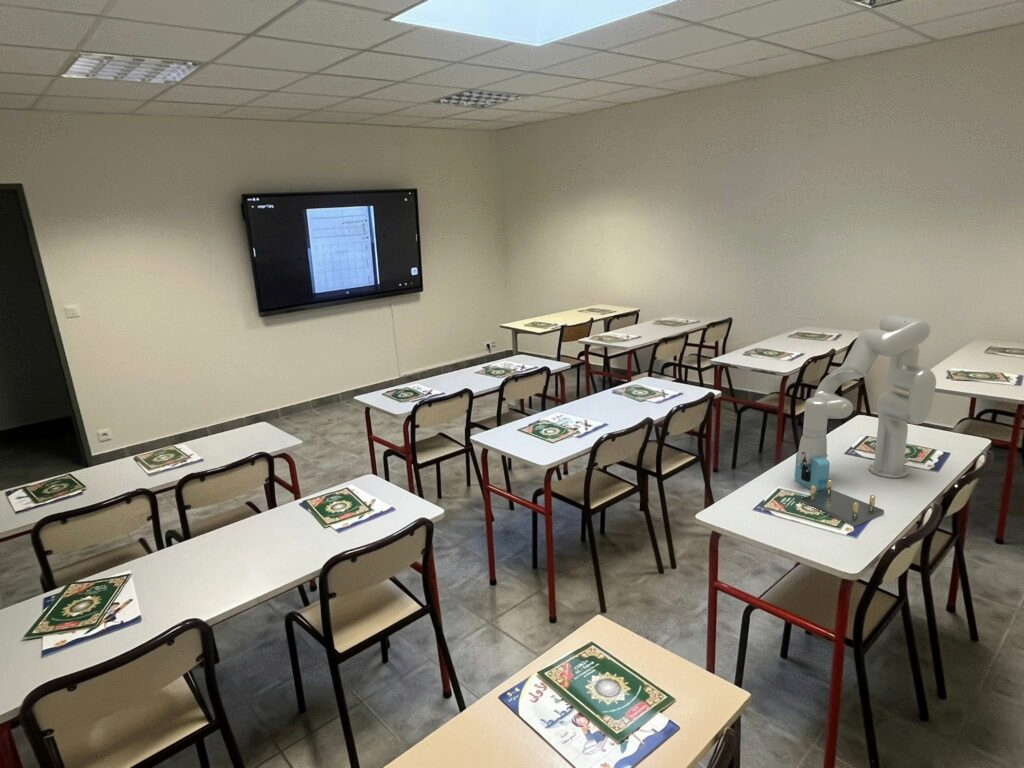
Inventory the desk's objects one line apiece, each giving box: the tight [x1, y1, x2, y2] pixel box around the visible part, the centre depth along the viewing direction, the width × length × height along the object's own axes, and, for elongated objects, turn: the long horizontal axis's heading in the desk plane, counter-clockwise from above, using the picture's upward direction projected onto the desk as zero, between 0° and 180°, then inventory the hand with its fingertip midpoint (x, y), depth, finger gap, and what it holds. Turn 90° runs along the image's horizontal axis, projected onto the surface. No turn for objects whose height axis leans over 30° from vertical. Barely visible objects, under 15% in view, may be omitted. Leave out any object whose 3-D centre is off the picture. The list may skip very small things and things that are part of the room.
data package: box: [794, 451, 831, 493], centre depth 223 cm, size 12×4×12 cm, turn 14°
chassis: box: [799, 478, 885, 527], centre depth 206 cm, size 15×20×6 cm
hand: (811, 478), depth 224 cm, fingers closed on data package, 5 cm apart
